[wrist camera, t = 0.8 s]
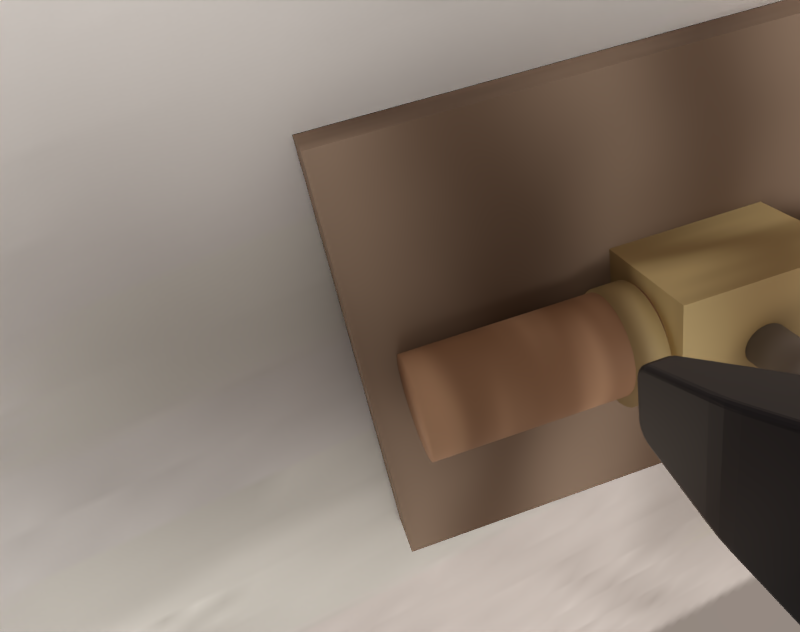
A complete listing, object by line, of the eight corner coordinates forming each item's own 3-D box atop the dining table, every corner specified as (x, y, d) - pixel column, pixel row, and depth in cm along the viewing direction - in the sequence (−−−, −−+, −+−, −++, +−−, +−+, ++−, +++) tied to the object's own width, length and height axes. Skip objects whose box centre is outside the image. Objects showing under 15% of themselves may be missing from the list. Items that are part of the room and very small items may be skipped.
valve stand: (400, 519, 25) (482, 746, 18) (292, 134, 18) (360, 269, 11) (890, 347, 27) (1126, 489, 20) (973, -52, 20) (1383, -39, 13)
